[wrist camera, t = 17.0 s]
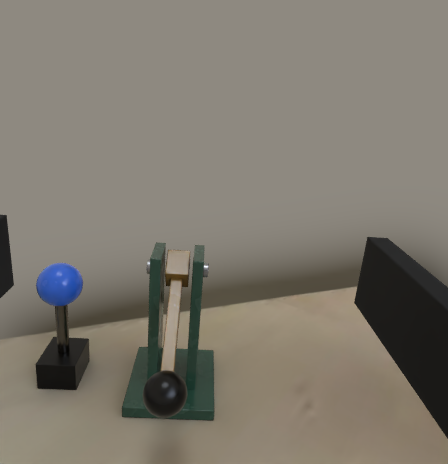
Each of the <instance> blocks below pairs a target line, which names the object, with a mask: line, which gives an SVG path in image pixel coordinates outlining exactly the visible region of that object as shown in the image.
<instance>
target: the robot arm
mask: <svg viewBox="0 0 448 464" xmlns="http://www.w3.org/2000/svg"><path fill="white" fill-rule="evenodd" d="M13 285H14V283H13V273H12V264H11V253H10V244H9V234H8V226H7V216H6V215H0V298H1V297H2V296H3V295H4V294H5V293H6V292H7V291H8V290H9V289H10V288H11V287H12V286H13ZM354 303H355V304H356V306H357V307H358V309H359V310H360V312H361V313H362V315H363V316H364V317H365V319H366V320H367V322H368V323H369V325H370V326H371V328H372V329H373V331H374V332H375V333H376V335H377V336H378V338H379V339H380V341H381V342H382V344H383V345H384V347H385V348H386V349H387V351H388V352H389V354H390V355H391V357H392V358H393V360H394V361H395V363H396V364H397V365H398V367H399V368H400V370H401V371H402V373H403V374H404V376H405V377H406V379H407V380H408V382H409V383H410V384H411V386H412V387H413V389H414V390H415V392H416V393H417V395H418V396H419V398H420V399H421V400H422V402H423V403H424V405H425V406H426V408H427V409H428V411H429V412H430V414H431V415H432V416H433V418H434V419H435V421H436V422H437V424H438V425H439V427H440V428H441V430H442V431H443V432H444V434H445V435H446V437H447V438H448V288H447V286H445V285H444V284H443V283H442V282H440V281H439V280H438V279H437V278H435V277H434V276H433V275H432V274H431V273H429V272H428V271H427V270H426V269H424V268H423V267H422V266H421V265H420V264H418V263H417V262H416V261H415V260H413V259H412V258H411V257H410V256H409V255H407V254H406V253H405V252H404V251H402V250H401V249H400V248H399V247H397V246H396V245H395V244H394V243H393V242H391V241H390V240H389V239H388V238H375V237H367V243H366V247H365V252H364V257H363V262H362V267H361V273H360V277H359V283H358V287H357V292H356V297H355V302H354Z"/></svg>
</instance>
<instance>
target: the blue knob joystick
mask: <svg viewBox="0 0 448 464" xmlns="http://www.w3.org/2000/svg"><path fill="white" fill-rule="evenodd" d="M36 286H37V292H38V294H39V296H40V298H42V300H43V301H45V302H46V303H48V304H50V305H53V306H55V314H56V331H57V337H53V339H52V340H51V342H50V343H49V345H48V346H47V348H46V349H45V351H44V352H43V354H42V355H41V357H40V359H39V360H38V362H37V363H36V374H37V387H38V388H44V389H68V390H76V389H77V387H78V384H79V382H80V380H81V378H82V376H83V373H84V371H85V369H86V367H87V365H88V362H89V339H84V338H69V328H68V308H67V304H69V303H71V302H73V301H74V300H75V299H76V298H77V297H78V296H79V295H80V293H81V291H82V286H83V280H82V277H81V274H80V273H79V271H78V270H77V269H76V268H75V267H73V266H72V265H69V264H66V263H55V264H52V265H49V266H48V267H46V268H45V269H44V270H43V271H42V272H41V273H40V275H39V277H38V279H37V285H36Z"/></svg>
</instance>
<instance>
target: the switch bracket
mask: <svg viewBox="0 0 448 464" xmlns="http://www.w3.org/2000/svg"><path fill="white" fill-rule="evenodd" d="M165 249H166V243H156V244H155V247H154V250H153V253H152V255H151V258H150V260H148V262H147V274H150V284H149V326H148V347H139V349H138V353H137V356H136V360H135V363H134V367H133V371H132V374H131V378H130V381H129V385H128V388H127V392H126V395H125V399H124V402H123V406H122V417H140V418H159V417H156V416H154V415H152V414H151V413H150V412H149V411H148V410H147V408H146V407H145V405H144V402H143V389H144V386H145V384H146V382H147V380H148V379H149V378H150V377H151V376H152V375H153V374H155V373H157V372H159V371H161V363H162V354H163V348H162V331H163V303H164V302H163V301H164V277H165ZM208 266H209V264H208V263H204V246H201V245H195V249H194V260H193V274H192V275H193V276H192V291H191V307H190V323H189V340H188V349H176V358H175V369H174V372H175V373H177V374H179V375H180V376H181V377H182V378H183V380H184V381H185V383H186V386H187V399H186V403H185V405H184V407H183V408H182V409H181V410H180V412H178V413H177V414H176V415H174V416H172V417H169V418H166V419H191V420H213V419H214V355H213V350H198V340H199V326H200V312H201V297H202V283H203V277H208Z"/></svg>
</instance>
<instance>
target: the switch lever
mask: <svg viewBox="0 0 448 464" xmlns="http://www.w3.org/2000/svg"><path fill="white" fill-rule="evenodd" d="M189 267H190V251H181V250H168V254H167V262H166V270H165V279H166V286H170V292H169V300H168V309H167V318H166V327H165V336H164V345H163V354H162V363H161V371H159V372H157V373H155V374H153V375H152V376H151V377H150V378H149V379H148V380H147V382H146V384H145V386H144V389H143V402H144V405H145V407H146V408H147V410H148V411H149V412H150V413H151V414H152V415H154V416H156V417H159V418H169V417H172V416H174V415H176V414H177V413H178V412H180V410H181V409H182V408H183V407H184V405H185V403H186V399H187V386H186V383H185V381H184V380H183V378H182V377H181V376H180V375H179V374H177V373H175V372H174V369H175V358H176V348H177V337H178V326H179V315H180V304H181V293H182V287H188V280H189Z"/></svg>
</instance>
